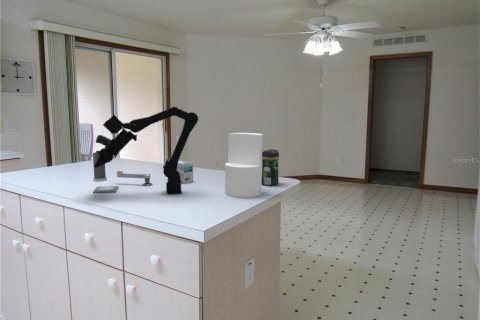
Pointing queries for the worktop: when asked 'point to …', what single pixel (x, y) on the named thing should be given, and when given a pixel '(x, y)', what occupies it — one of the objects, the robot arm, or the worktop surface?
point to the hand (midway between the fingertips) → (96, 166)
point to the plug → (98, 169)
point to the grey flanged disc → (147, 182)
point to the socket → (106, 189)
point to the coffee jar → (270, 167)
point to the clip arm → (132, 175)
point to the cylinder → (244, 165)
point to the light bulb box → (185, 171)
